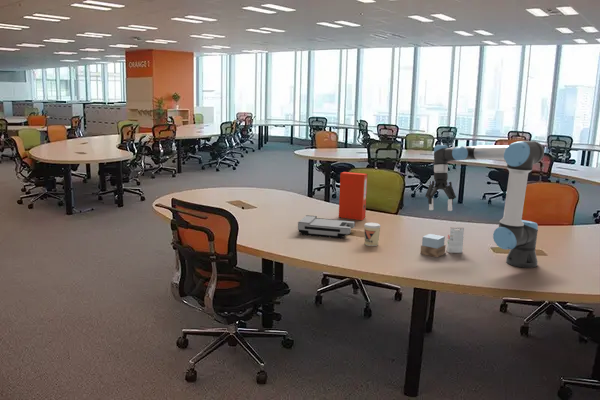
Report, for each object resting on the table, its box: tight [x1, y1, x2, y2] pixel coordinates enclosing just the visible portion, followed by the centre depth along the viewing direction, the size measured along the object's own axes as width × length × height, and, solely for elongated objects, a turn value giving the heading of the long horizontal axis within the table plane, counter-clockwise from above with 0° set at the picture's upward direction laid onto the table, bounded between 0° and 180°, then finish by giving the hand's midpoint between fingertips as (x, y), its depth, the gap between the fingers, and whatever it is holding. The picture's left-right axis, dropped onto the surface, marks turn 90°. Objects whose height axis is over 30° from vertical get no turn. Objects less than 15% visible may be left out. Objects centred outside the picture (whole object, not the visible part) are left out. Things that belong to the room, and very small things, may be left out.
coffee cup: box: [363, 222, 381, 247], centre depth 302 cm, size 9×9×12 cm
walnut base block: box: [420, 244, 447, 258], centre depth 287 cm, size 10×10×5 cm
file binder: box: [338, 171, 368, 221], centre depth 365 cm, size 8×17×32 cm, turn 65°
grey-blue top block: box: [421, 233, 446, 249], centre depth 286 cm, size 9×9×5 cm
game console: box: [297, 214, 356, 239], centre depth 325 cm, size 21×32×8 cm, turn 75°
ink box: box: [446, 227, 465, 254], centre depth 290 cm, size 4×8×15 cm, turn 89°
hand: (440, 210), depth 291 cm, fingers open, 13 cm apart
